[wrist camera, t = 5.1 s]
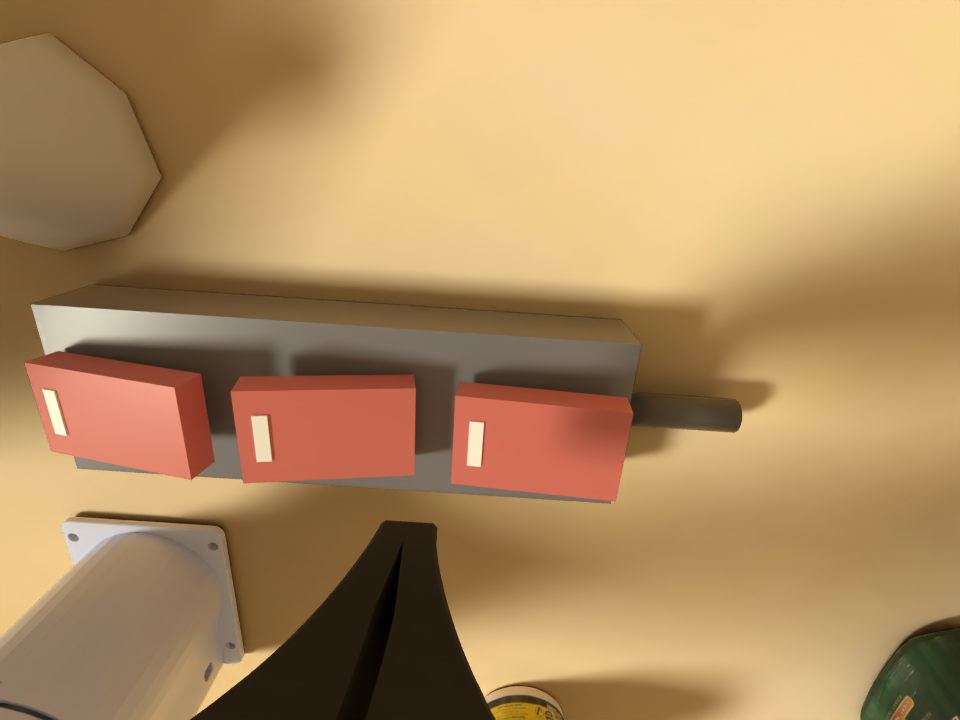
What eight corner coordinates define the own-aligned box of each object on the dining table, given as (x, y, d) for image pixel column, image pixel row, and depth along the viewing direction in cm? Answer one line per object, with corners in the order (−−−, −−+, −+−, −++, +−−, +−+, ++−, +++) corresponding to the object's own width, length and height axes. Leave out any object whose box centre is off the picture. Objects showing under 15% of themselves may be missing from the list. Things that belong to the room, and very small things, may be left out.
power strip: (702, 469, 23) (735, 518, 20) (126, 431, 23) (69, 474, 20) (741, 327, 21) (786, 358, 18) (92, 284, 21) (20, 307, 18)
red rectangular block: (610, 481, 19) (615, 502, 18) (455, 465, 19) (450, 484, 18) (627, 397, 18) (633, 414, 17) (459, 381, 18) (454, 396, 17)
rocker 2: (412, 457, 20) (414, 476, 19) (251, 463, 19) (242, 484, 18) (414, 374, 18) (415, 389, 17) (240, 376, 17) (229, 392, 16)
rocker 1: (215, 461, 19) (189, 481, 18) (81, 435, 20) (49, 452, 19) (200, 373, 17) (172, 388, 16) (58, 350, 18) (22, 363, 17)
